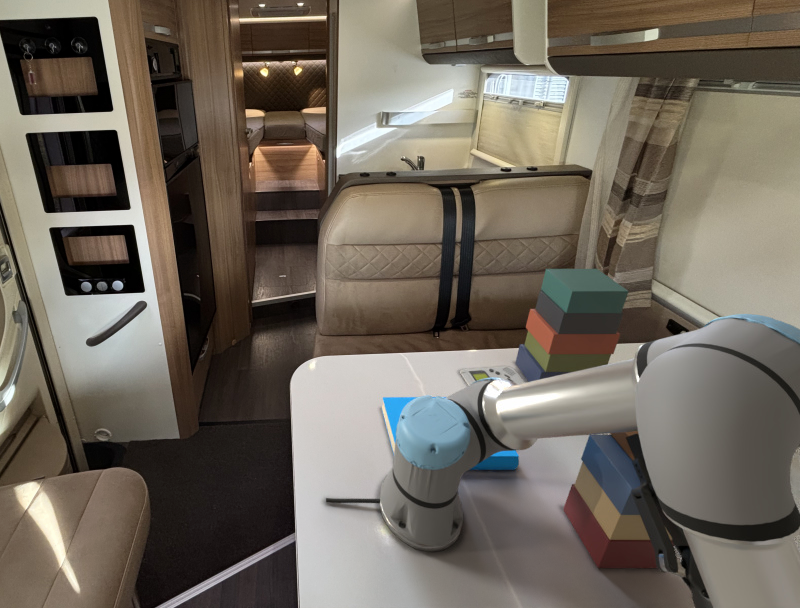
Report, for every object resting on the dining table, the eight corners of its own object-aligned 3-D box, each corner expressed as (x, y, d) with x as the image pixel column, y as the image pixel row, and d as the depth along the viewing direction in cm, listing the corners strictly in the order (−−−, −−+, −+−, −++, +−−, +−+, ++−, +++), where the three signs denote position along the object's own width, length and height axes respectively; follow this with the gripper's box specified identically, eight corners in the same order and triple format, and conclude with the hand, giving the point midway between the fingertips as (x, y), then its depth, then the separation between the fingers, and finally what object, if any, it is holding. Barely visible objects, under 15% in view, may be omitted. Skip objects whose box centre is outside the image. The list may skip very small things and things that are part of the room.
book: (381, 397, 103) (484, 394, 103) (380, 410, 104) (482, 408, 105) (399, 460, 87) (521, 456, 87) (398, 474, 89) (517, 471, 89)
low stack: (597, 568, 72) (632, 489, 65) (562, 509, 81) (589, 434, 74) (662, 568, 72) (704, 489, 65) (620, 509, 81) (652, 434, 74)
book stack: (602, 391, 109) (637, 291, 98) (535, 392, 109) (563, 291, 98) (575, 362, 119) (605, 268, 108) (515, 362, 120) (538, 268, 108)
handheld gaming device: (530, 388, 109) (475, 392, 108) (530, 390, 110) (474, 394, 108) (511, 365, 117) (459, 368, 116) (510, 367, 118) (458, 370, 116)
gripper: (655, 632, 57) (581, 440, 71) (786, 632, 57) (686, 440, 71) (697, 641, 51) (607, 430, 65) (844, 641, 51) (722, 430, 65)
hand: (649, 435), depth 68 cm, fingers closed on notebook, 4 cm apart
